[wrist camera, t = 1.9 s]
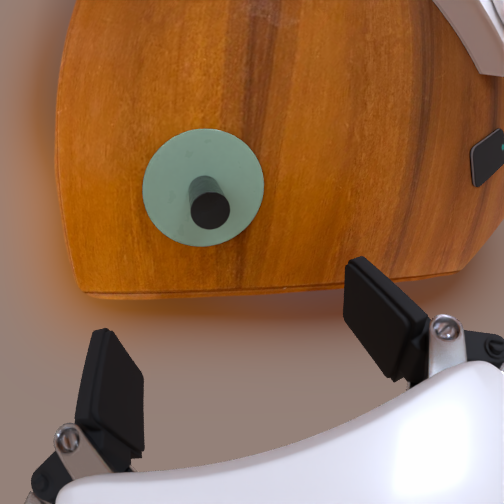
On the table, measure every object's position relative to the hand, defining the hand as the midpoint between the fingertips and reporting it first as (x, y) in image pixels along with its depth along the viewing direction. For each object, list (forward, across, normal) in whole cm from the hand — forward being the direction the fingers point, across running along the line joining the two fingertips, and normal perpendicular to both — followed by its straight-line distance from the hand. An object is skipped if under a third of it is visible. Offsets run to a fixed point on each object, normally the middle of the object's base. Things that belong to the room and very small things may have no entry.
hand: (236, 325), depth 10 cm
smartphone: (+18, -50, +1) cm, 53 cm away
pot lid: (+17, 0, -1) cm, 17 cm away
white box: (+18, -47, -27) cm, 57 cm away
